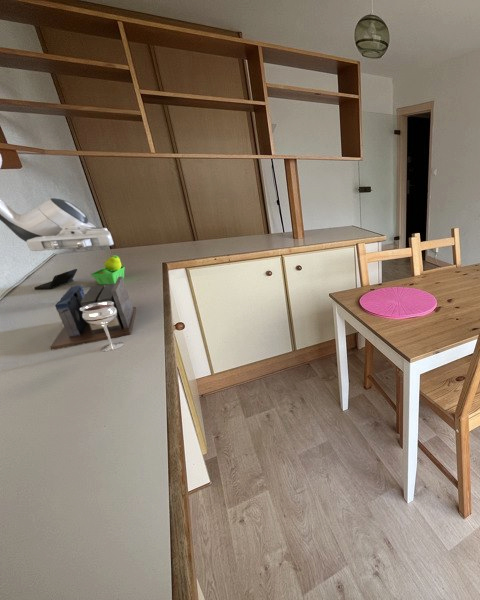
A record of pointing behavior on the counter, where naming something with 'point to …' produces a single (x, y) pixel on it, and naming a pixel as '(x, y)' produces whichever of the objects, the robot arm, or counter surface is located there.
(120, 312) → the book rack
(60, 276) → the handheld gaming console
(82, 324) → the vhs cassette tape
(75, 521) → the counter surface
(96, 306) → the wineglass
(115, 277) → the fruit basket
